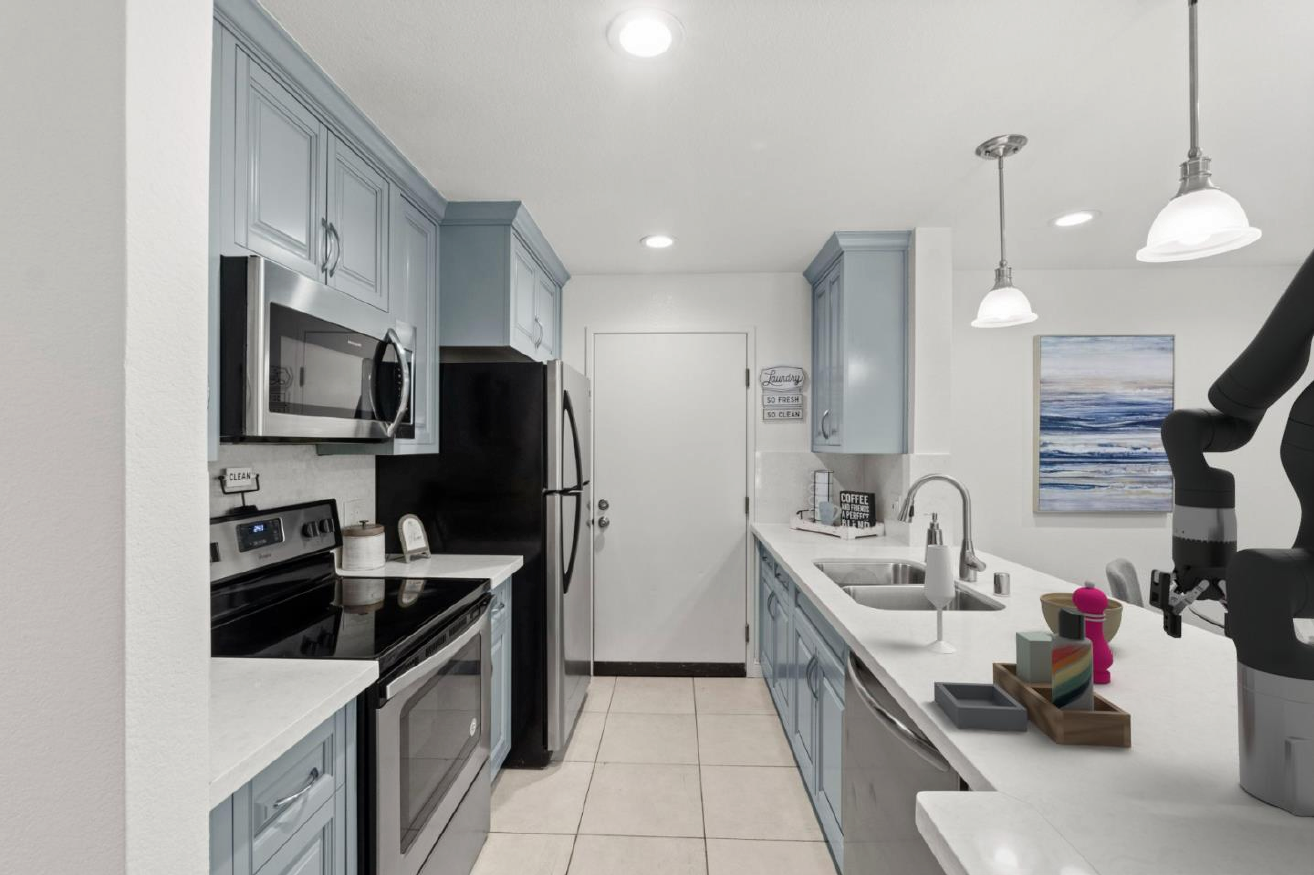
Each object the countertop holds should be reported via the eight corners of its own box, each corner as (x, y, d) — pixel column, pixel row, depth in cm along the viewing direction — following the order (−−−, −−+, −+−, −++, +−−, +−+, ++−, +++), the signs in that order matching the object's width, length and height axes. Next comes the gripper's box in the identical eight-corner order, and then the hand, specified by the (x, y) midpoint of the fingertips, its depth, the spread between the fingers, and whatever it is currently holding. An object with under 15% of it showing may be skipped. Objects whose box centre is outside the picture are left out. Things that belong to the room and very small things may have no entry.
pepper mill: (1121, 686, 118) (1119, 584, 118) (1080, 683, 119) (1078, 583, 119) (1101, 672, 125) (1100, 576, 125) (1063, 670, 126) (1061, 575, 127)
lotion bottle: (1054, 718, 104) (1052, 602, 104) (1095, 727, 100) (1093, 608, 100) (1050, 730, 99) (1048, 609, 100) (1093, 740, 96) (1090, 615, 96)
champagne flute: (918, 646, 141) (917, 545, 142) (935, 642, 145) (934, 543, 145) (945, 655, 136) (943, 549, 136) (962, 649, 139) (960, 546, 140)
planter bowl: (1055, 631, 153) (1054, 588, 153) (1133, 647, 140) (1132, 601, 140) (1029, 644, 143) (1028, 598, 143) (1110, 662, 130) (1110, 613, 131)
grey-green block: (1059, 707, 108) (1058, 641, 108) (1030, 706, 108) (1029, 640, 109) (1044, 696, 113) (1043, 632, 113) (1016, 695, 113) (1015, 632, 114)
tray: (1027, 731, 99) (1027, 709, 99) (958, 728, 100) (958, 707, 100) (996, 703, 110) (996, 683, 110) (934, 700, 111) (934, 681, 111)
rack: (1131, 746, 94) (1130, 714, 94) (1057, 743, 95) (1056, 711, 95) (1052, 690, 116) (1052, 664, 116) (993, 688, 117) (992, 662, 117)
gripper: (1173, 538, 90) (1172, 644, 91) (1275, 539, 89) (1275, 647, 89) (1138, 530, 98) (1137, 628, 98) (1232, 531, 96) (1231, 630, 97)
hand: (1203, 637), depth 94 cm, fingers open, 8 cm apart
